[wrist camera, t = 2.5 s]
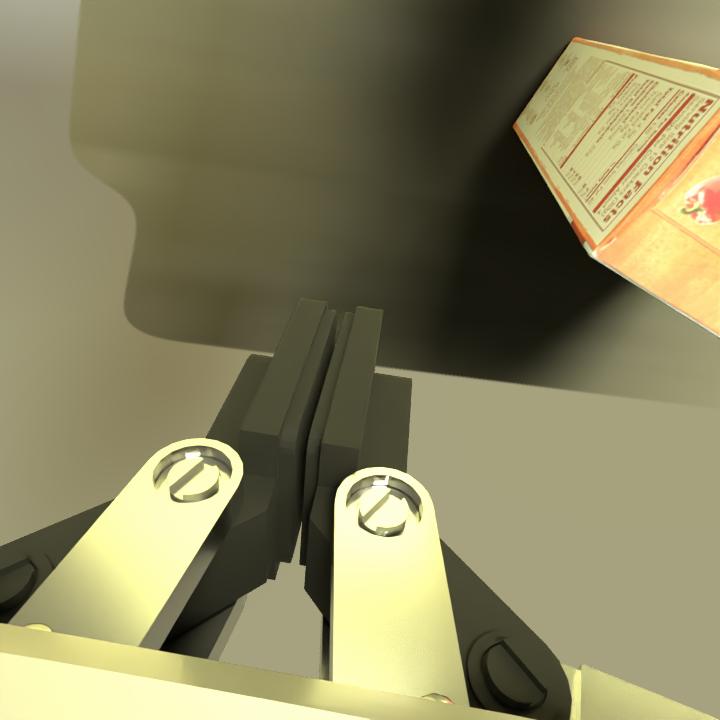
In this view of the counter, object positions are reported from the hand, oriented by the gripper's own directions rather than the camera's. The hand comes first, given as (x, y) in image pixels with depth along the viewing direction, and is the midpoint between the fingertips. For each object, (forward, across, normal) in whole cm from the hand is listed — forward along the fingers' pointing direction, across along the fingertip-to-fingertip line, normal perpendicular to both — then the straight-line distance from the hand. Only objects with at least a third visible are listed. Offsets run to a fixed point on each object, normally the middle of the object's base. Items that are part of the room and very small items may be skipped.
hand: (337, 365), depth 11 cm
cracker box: (+27, -14, -1) cm, 31 cm away
